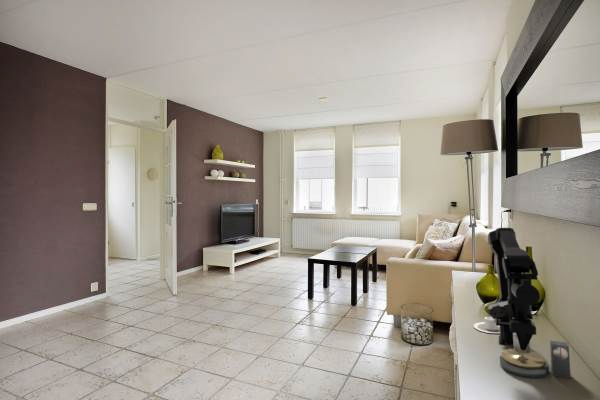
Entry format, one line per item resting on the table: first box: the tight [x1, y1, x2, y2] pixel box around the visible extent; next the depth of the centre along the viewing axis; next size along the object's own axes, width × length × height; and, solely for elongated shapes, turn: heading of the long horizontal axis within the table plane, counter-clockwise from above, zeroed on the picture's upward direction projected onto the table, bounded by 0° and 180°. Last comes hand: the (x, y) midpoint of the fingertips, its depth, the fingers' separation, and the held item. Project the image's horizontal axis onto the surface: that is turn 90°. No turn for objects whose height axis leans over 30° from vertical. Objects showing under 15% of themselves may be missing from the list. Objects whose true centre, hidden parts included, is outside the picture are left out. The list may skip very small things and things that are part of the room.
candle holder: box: [473, 316, 500, 334], centre depth 137 cm, size 12×12×4 cm
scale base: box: [499, 340, 572, 379], centre depth 103 cm, size 12×17×9 cm
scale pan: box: [501, 348, 547, 369], centre depth 104 cm, size 11×11×1 cm
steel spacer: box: [513, 332, 532, 354], centre depth 105 cm, size 4×4×5 cm
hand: (522, 346), depth 105 cm, fingers closed on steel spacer, 4 cm apart
